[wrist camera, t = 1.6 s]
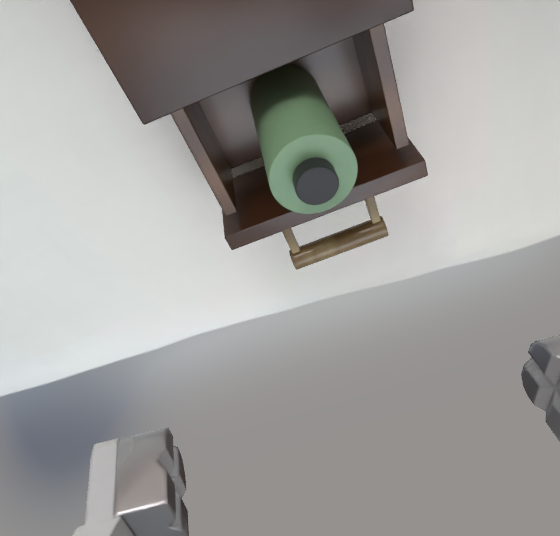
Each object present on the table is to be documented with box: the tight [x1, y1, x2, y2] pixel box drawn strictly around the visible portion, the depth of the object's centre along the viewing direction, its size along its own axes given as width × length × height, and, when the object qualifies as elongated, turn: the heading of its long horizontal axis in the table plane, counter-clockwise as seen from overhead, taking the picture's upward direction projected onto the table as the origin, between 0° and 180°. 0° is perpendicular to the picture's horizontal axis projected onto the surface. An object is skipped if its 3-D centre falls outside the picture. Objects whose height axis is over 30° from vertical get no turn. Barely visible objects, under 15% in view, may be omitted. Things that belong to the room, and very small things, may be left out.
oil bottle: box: [250, 64, 358, 214], centre depth 29 cm, size 5×5×11 cm
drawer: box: [171, 23, 428, 269], centre depth 32 cm, size 18×13×7 cm
